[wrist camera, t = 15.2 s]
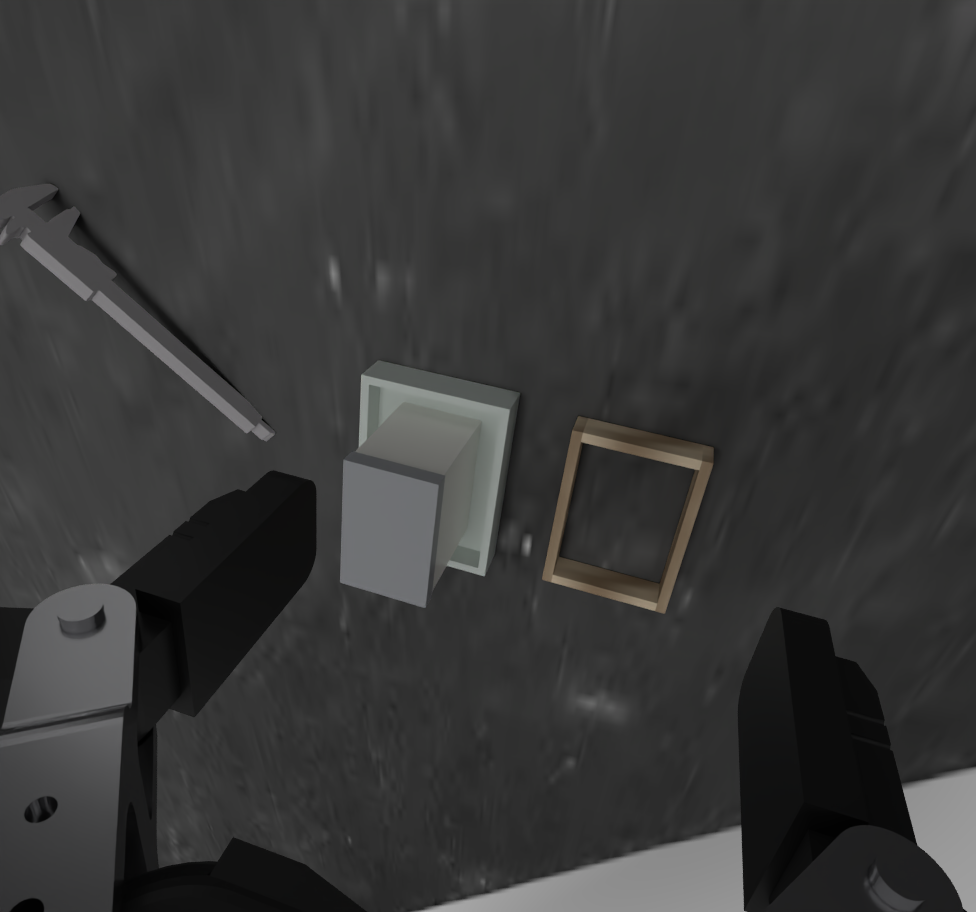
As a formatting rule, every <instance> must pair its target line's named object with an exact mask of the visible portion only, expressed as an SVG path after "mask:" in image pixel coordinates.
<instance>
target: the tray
mask: <svg viewBox="0 0 976 912" xmlns="http://www.w3.org/2000/svg"><path fill="white" fill-rule="evenodd" d="M519 399H520V393H519V392H515V391H510V390H506V389H502V388H497V387H493V386H489V385H484V384H480V383H476V382H471V381H467V380H463V379H458V378H454V377H450V376H445V375H441V374H436V373H432V372H428V371H423V370H419V369H415V368H410V367H406V366H402V365H397V364H393V363H389V362H384V361H380V360H378V361H377V362H376V363H375V364H374V365H372V366H371V367H370V368H369V369H368V370H366V371H365V372H364V373H363V374H362V375H361V400H360V429H359V447H360V446H361V445H362V444H363V443H364V442H365V441H366V440H367V439H368V438H369V437H370V436H371V435H372V434H373V433H374V432H375V431H376V430H377V429H378V428H379V427H380V426H381V425H382V424H383V422H384V421H385V420H386V419H387V418H388V417H389V416H390V415H391V414H392V413H393V412H394V411H395V410H396V409H397V408H398V407H399V406H400V405H401V404H402V403H403V402H407V403H411V404H415V405H419V406H423V407H427V408H431V409H435V410H439V411H444V412H448V413H452V414H456V415H460V416H464V417H468V418H472V419H476V420H480V421H482V422H481V429H480V436H479V444H478V451H477V458H476V466H475V473H474V480H473V488H472V495H471V502H470V510H469V517H468V524H467V530H466V531H465V533H464V535H463V537H462V539H461V540H460V542H459V544H458V546H457V548H456V549H455V551H454V553H453V555H452V557H451V558H450V560H449V562H448V564H447V566H450V567H453V568H457V569H460V570H464V571H468V572H471V573H475V574H478V575H482V576H485V575H486V572H487V570H488V568H489V566H490V564H491V562H492V560H493V557H494V555H495V551H496V545H497V538H498V532H499V526H500V519H501V513H502V507H503V500H504V494H505V488H506V481H507V475H508V469H509V462H510V456H511V449H512V443H513V437H514V430H515V424H516V418H517V411H518V405H519Z"/></svg>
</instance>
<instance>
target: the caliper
mask: <svg viewBox="0 0 976 912" xmlns="http://www.w3.org/2000/svg"><path fill="white" fill-rule="evenodd" d="M58 190H59V189H58V188H57V187H56V186H54V185H52V184H49V183H47V184H39V185H33V186H27V187H21V188H15V189H11V190H9V191H7V192H6V193H4V194H2V195H1V196H0V229H1V228H3V227H5V228H4V230H3V231H2V233H1V235H0V245H3V244H5V243H7V242H8V241H9V240H11V239H12V238H13V237H15V238H18V237H19V238H21V239H22V240H23V241H22V243H21V244H20V245H21V246H22V247H23V248H24V249H25V250H26V251H27V252H28V253H29V254H31V255H32V256H33V257H34V258H35V259H37V260H38V261H39V262H40V263H41V264H42V265H44V266H45V267H46V268H47V269H48V270H50V271H51V272H52V273H53V274H54V275H56V276H57V277H58V278H59V279H60V280H61V281H63V282H64V283H65V284H66V285H67V286H69V287H70V288H71V289H72V290H73V291H74V292H76V293H77V294H78V295H79V296H80V297H82V298H83V299H84V300H85V301H89V300H93V301H94V302H95V303H96V304H97V305H98V306H100V307H101V308H102V309H103V310H104V311H105V312H106V313H108V314H109V315H110V316H111V317H112V318H113V319H115V320H116V321H117V322H118V323H119V324H120V325H121V326H123V327H124V328H125V329H126V330H127V331H128V332H130V333H131V334H132V335H133V336H134V337H135V338H136V339H138V340H139V341H140V342H141V343H142V344H143V345H145V346H146V347H147V348H148V349H149V350H150V351H152V352H153V353H154V354H155V355H156V356H157V357H158V358H160V359H161V360H162V361H163V362H164V363H165V364H167V365H168V366H169V367H170V368H171V369H172V370H173V371H175V372H176V373H177V374H178V375H179V376H180V377H182V378H183V379H184V380H185V381H186V382H187V383H188V384H190V385H191V386H192V387H193V388H194V389H195V390H197V391H198V392H199V393H200V394H201V395H202V396H204V397H205V398H206V399H207V400H208V401H209V402H211V403H212V404H213V405H214V406H215V407H216V408H218V409H219V410H220V411H221V412H222V413H223V414H225V415H226V416H227V417H228V418H229V419H230V420H232V421H233V422H234V423H235V424H236V425H237V426H238V427H240V428H241V429H242V430H243V431H244V432H245V433H248V432H249V431H252V432H253V433H254V434H256V435H257V436H258V437H259V438H260V439H261V440H265V441H268V440H269V439H270V438H271V437H272V436H274V435H275V434H276V433H275V431H274V430H273V429H272V428H271V427H270V426H268V425H267V424H266V423H265V422H264V421H262V420H261V419H262V418H263V417H262V416H261V415H260V414H259V413H258V412H257V411H256V410H255V408H254V407H253V406H252V405H251V404H250V403H249V402H248V401H247V400H246V399H245V398H244V397H243V396H242V395H241V394H240V393H238V392H237V391H236V390H235V389H234V388H233V387H232V386H230V385H229V384H228V383H227V382H226V381H225V380H224V379H222V378H221V377H220V376H219V375H218V374H217V373H216V372H215V371H213V370H212V369H211V368H210V367H209V366H208V365H207V364H205V363H204V362H203V361H202V360H201V359H200V358H199V357H197V356H196V355H195V354H194V353H193V352H192V351H191V350H189V349H188V348H187V347H186V346H185V345H184V344H183V343H182V342H180V341H179V340H178V339H177V338H176V337H175V336H174V335H173V334H171V333H170V332H169V331H168V330H167V329H166V328H165V327H163V326H162V325H161V324H160V323H159V322H158V321H157V320H156V319H154V318H153V317H152V316H151V315H150V314H149V313H148V312H147V311H145V310H144V309H143V308H142V307H141V306H140V305H139V304H138V303H136V302H135V301H134V300H133V299H132V298H131V297H130V296H129V295H127V294H126V293H125V292H124V291H123V290H122V289H121V288H120V287H118V286H117V285H116V284H115V283H114V282H113V279H114V278H115V277H116V276H117V274H116V273H115V272H114V271H113V270H112V269H110V268H109V267H107V266H106V265H104V264H103V263H102V262H101V261H100V259H99V258H98V257H97V256H96V255H95V254H93V253H92V252H90V251H88V250H87V249H85V248H83V247H82V246H80V245H77V244H76V243H74V242H73V241H72V240H71V239H70V238H69V237H68V235H69V234H70V232H71V230H72V228H73V226H74V224H75V222H76V221H77V219H78V217H79V215H80V212H79V211H78V210H77V209H76V208H75V206H74V207H72V208H71V209H70V210H69V209H66V210H64V211H63V212H61V213H60V214H58V215H56V216H55V217H53V218H52V219H51V220H50V221H49V222H45V221H43V220H42V219H41V218H40V217H39V216H38V215H37V214H36V213H34V212H33V210H34V209H36V208H38V207H39V206H41V205H42V204H44V203H46V202H48V201H50V200H51V199H52V198H53V197H54V196H55V194H56V193H57V191H58Z"/></svg>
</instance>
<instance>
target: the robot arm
mask: <svg viewBox="0 0 976 912" xmlns="http://www.w3.org/2000/svg"><path fill="white" fill-rule="evenodd" d="M315 556H316V487H315V484H314V482H313V481H311V480H308V479H304V478H300V477H296V476H293V475H289V474H285V473H281V472H278V471H270V472H268V473H267V474H265V475H264V476H263V477H262V478H261V479H260V480H259V481H257V482H256V483H255V484H254V485H253V486H252V487H251V488H249V489H248V490H247V491H246V492H245V491H242V490H238V489H237V490H235V491H233V492H230V493H228V494H226V495H223V496H221V497H219V498H216V499H214V500H211V501H210V502H208V503H207V504H206V505H205V506H204V507H202V508H201V509H200V510H199V511H198V512H196V513H195V514H194V515H193V516H192V517H190V520H189V522H187V521H186V522H184V523H183V524H182V525H181V526H180V527H178V528H177V529H176V530H175V531H174V533H173V535H172V536H171V535H169V536H168V537H166V538H165V539H164V540H163V541H162V542H160V543H159V544H158V545H157V546H156V547H154V548H153V549H152V550H151V551H150V552H148V553H147V554H146V555H145V556H144V557H142V558H141V559H140V560H139V561H138V562H136V563H135V564H134V565H133V566H132V567H130V568H129V569H128V570H127V571H126V572H124V573H123V574H122V575H121V576H120V577H118V578H117V579H116V580H115V581H114V582H112V583H111V584H110V585H109V584H86V585H80V586H75V587H72V588H68V589H66V590H63V591H60V592H58V593H56V594H54V595H52V596H50V597H48V598H47V599H45V600H44V601H42V602H41V603H40V604H39V605H38V606H36V607H35V608H34V609H31V608H6V607H0V912H367V911H365V910H364V909H363V908H361V907H360V906H359V905H357V904H356V903H355V902H354V901H352V900H351V899H350V898H348V897H347V896H346V895H344V894H343V893H342V892H340V891H339V890H338V889H337V888H335V887H334V886H333V885H331V884H330V883H329V882H327V881H326V880H325V879H324V878H322V877H321V876H320V875H318V874H317V873H316V872H314V871H313V870H312V869H310V868H309V867H308V866H307V865H305V864H303V863H300V862H297V861H295V860H292V859H289V858H287V857H284V856H281V855H279V854H276V853H273V852H271V851H268V850H266V849H263V848H260V847H258V846H255V845H252V844H250V843H247V842H244V841H242V840H239V839H236V838H234V837H233V838H232V840H231V841H230V843H229V845H228V846H227V848H226V849H225V851H224V852H223V854H222V856H221V857H220V859H219V860H218V862H215V861H205V862H188V863H182V864H176V865H170V866H166V867H162V868H159V865H158V854H157V728H156V723H157V722H158V721H159V720H160V718H161V717H162V716H163V715H164V714H165V713H166V712H167V710H168V709H172V710H175V711H178V712H180V713H183V714H186V715H189V716H192V717H195V716H196V715H197V714H198V713H199V711H200V710H201V709H202V708H203V707H204V705H205V704H206V703H207V702H208V700H209V699H210V698H211V697H212V695H213V694H214V693H215V692H216V691H217V689H218V688H219V687H220V686H221V684H222V683H223V682H224V681H225V680H226V678H227V677H228V676H229V675H230V673H231V672H232V671H233V670H234V669H235V667H236V666H237V665H238V664H239V662H240V661H241V660H242V659H243V658H244V656H245V655H246V654H247V653H248V651H249V650H250V649H251V648H252V647H253V645H254V644H255V643H256V642H257V640H258V639H259V638H260V637H261V636H262V634H263V633H264V632H265V631H266V629H267V628H268V627H269V626H270V625H271V623H272V622H273V621H274V620H275V618H276V617H277V616H278V615H279V614H280V612H281V611H282V610H283V609H284V607H285V606H286V605H287V604H288V603H289V601H290V600H291V599H292V598H293V596H294V595H295V594H296V593H297V592H298V590H299V589H300V588H301V587H302V585H303V584H304V583H305V581H306V580H307V578H308V576H309V574H310V572H311V570H312V567H313V564H314V561H315ZM884 721H885V720H884V716H883V712H882V708H881V705H880V701H879V697H878V693H877V690H876V689H875V688H874V686H873V685H872V683H871V682H870V681H869V679H868V678H867V677H866V675H865V674H864V672H863V671H862V670H861V668H860V667H859V665H858V664H857V663H856V662H854V661H850V660H847V659H843V658H840V657H836V656H835V652H834V648H833V643H832V638H831V633H830V628H829V624H828V622H827V621H826V620H824V619H820V618H816V617H812V616H809V615H805V614H801V613H798V612H794V611H790V610H786V609H783V608H779V607H776V608H775V609H774V610H773V611H772V613H771V615H770V617H769V619H768V622H767V624H766V626H765V629H764V631H763V633H762V636H761V638H760V640H759V643H758V645H757V647H756V650H755V652H754V655H753V657H752V659H751V662H750V664H749V666H748V669H747V671H746V674H745V676H744V679H743V683H742V686H741V691H740V696H739V703H738V735H739V766H740V797H741V828H742V857H743V858H742V859H743V889H744V911H747V912H967V911H965V910H964V909H963V907H962V903H961V900H960V898H959V895H958V893H957V891H956V889H955V887H954V885H953V884H952V882H951V880H950V879H949V878H948V876H947V875H946V873H945V872H944V871H943V870H942V868H941V867H940V866H939V865H938V864H937V863H936V862H935V861H934V860H933V859H932V858H931V857H930V856H929V855H928V854H927V853H926V852H925V851H924V850H922V849H921V848H920V847H918V846H917V843H916V839H915V835H914V831H913V827H912V824H911V820H910V816H909V812H908V808H907V804H906V801H905V797H904V793H903V789H902V785H901V781H900V777H899V774H898V770H897V766H896V762H895V758H894V754H893V751H892V750H890V745H891V743H890V739H889V735H888V731H887V728H886V726H884Z"/></svg>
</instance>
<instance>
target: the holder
mask: <svg viewBox="0 0 976 912" xmlns="http://www.w3.org/2000/svg"><path fill="white" fill-rule="evenodd" d="M583 443H587V444H591V445H595V446H599V447H604V448H608V449H612V450H616V451H620V452H624V453H629V454H633V455H637V456H641V457H645V458H650V459H654V460H658V461H662V462H666V463H670V464H675V465H679V466H683V467H687V468H691V469H695V472H694V475H693V478H692V481H691V485H690V488H689V491H688V494H687V497H686V501H685V504H684V507H683V510H682V514H681V517H680V520H679V523H678V526H677V530H676V533H675V536H674V539H673V542H672V546H671V549H670V552H669V555H668V559H667V562H666V565H665V568H664V571H663V575H662V578H661V581H660V584H658V583H655V582H651V581H647V580H644V579H640V578H636V577H632V576H629V575H625V574H621V573H618V572H614V571H610V570H607V569H603V568H599V567H596V566H592V565H588V564H584V563H581V562H577V561H573V560H570V559H566V558H562V557H559V553H560V548H561V544H562V539H563V534H564V530H565V525H566V520H567V516H568V511H569V506H570V502H571V497H572V492H573V488H574V483H575V478H576V474H577V469H578V464H579V460H580V455H581V450H582V446H583ZM713 461H714V447H710V446H706V445H702V444H697V443H693V442H689V441H684V440H680V439H676V438H672V437H667V436H663V435H659V434H654V433H650V432H646V431H642V430H637V429H633V428H629V427H624V426H620V425H616V424H611V423H607V422H603V421H599V420H594V419H590V418H586V417H581V416H578V418H577V420H576V423H575V425H574V428H573V430H572V435H571V440H570V445H569V449H568V454H567V459H566V464H565V469H564V474H563V479H562V484H561V489H560V494H559V499H558V503H557V508H556V513H555V518H554V523H553V528H552V533H551V538H550V543H549V548H548V553H547V557H546V562H545V567H544V572H543V577H542V580H546V581H549V582H553V583H556V584H560V585H564V586H567V587H571V588H574V589H578V590H581V591H585V592H589V593H592V594H596V595H599V596H603V597H607V598H610V599H614V600H617V601H621V602H625V603H628V604H632V605H635V606H639V607H643V608H646V609H650V610H653V611H657V612H661V613H664V614H665V611H666V608H667V605H668V602H669V599H670V596H671V593H672V590H673V587H674V584H675V581H676V578H677V574H678V571H679V568H680V565H681V562H682V559H683V556H684V553H685V550H686V547H687V544H688V541H689V537H690V534H691V531H692V528H693V525H694V522H695V519H696V516H697V513H698V510H699V507H700V504H701V501H702V497H703V494H704V491H705V488H706V485H707V482H708V479H709V476H710V473H711V470H712V467H713Z"/></svg>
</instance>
